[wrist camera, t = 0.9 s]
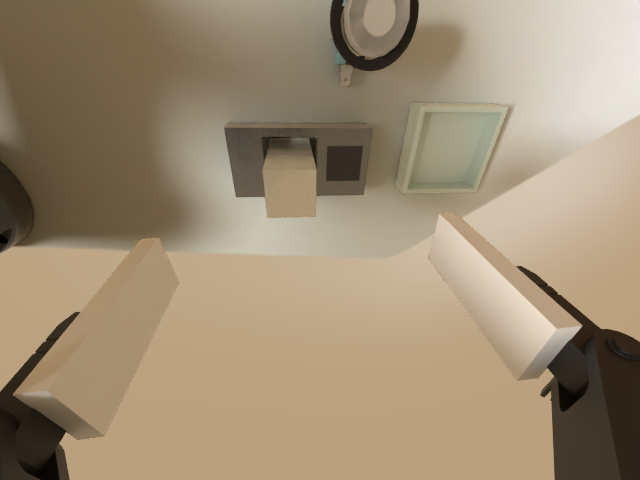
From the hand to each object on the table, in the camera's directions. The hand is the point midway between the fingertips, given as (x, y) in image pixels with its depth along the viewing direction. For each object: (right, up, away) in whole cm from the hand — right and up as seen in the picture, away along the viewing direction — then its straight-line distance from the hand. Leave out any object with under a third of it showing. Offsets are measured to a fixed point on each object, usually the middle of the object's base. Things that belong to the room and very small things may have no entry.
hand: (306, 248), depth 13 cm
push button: (+3, +18, +11) cm, 22 cm away
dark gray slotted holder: (-2, +10, +16) cm, 19 cm away
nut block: (-3, +10, +16) cm, 19 cm away
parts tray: (+14, +11, +17) cm, 25 cm away
